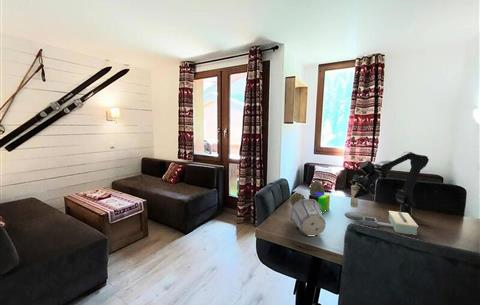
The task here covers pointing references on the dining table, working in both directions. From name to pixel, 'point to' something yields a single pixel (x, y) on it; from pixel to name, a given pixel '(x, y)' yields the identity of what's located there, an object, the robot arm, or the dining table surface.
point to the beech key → (353, 192)
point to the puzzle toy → (321, 200)
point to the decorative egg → (316, 188)
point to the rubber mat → (353, 215)
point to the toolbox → (395, 222)
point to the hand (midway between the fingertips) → (352, 196)
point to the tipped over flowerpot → (307, 215)
